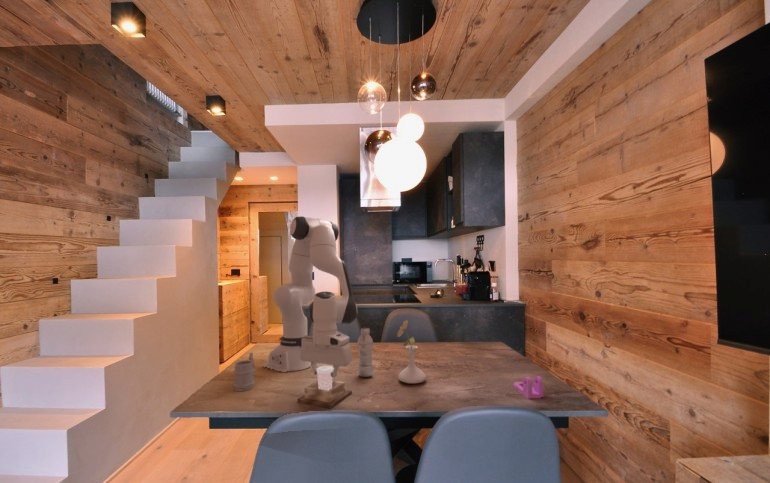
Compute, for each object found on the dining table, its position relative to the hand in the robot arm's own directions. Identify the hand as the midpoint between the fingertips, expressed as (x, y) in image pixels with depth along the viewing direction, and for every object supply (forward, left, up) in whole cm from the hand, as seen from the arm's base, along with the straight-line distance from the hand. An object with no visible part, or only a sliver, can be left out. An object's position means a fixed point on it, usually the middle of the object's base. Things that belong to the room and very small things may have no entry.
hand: (325, 375), depth 128 cm
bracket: (+66, +33, -8) cm, 75 cm away
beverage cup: (0, 0, -7) cm, 7 cm away
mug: (-36, -2, -8) cm, 37 cm away
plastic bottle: (+3, +26, -8) cm, 27 cm away
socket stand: (0, 0, -8) cm, 8 cm away
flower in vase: (+23, +27, -8) cm, 36 cm away
